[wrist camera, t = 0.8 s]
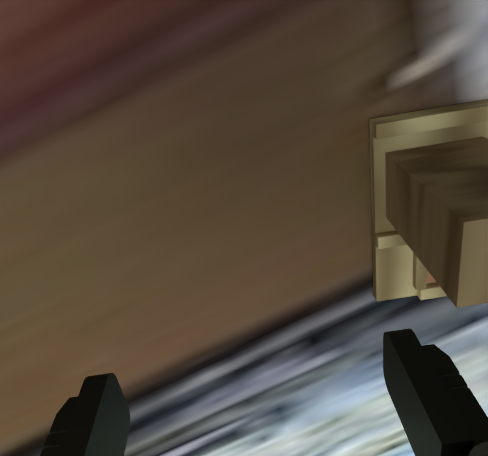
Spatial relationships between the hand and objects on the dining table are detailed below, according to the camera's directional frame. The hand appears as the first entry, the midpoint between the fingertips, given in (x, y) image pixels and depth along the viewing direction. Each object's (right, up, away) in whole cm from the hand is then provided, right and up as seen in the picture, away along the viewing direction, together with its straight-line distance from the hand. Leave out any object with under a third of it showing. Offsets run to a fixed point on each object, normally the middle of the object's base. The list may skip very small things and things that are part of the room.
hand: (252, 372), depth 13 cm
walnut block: (+16, +8, +24) cm, 30 cm away
